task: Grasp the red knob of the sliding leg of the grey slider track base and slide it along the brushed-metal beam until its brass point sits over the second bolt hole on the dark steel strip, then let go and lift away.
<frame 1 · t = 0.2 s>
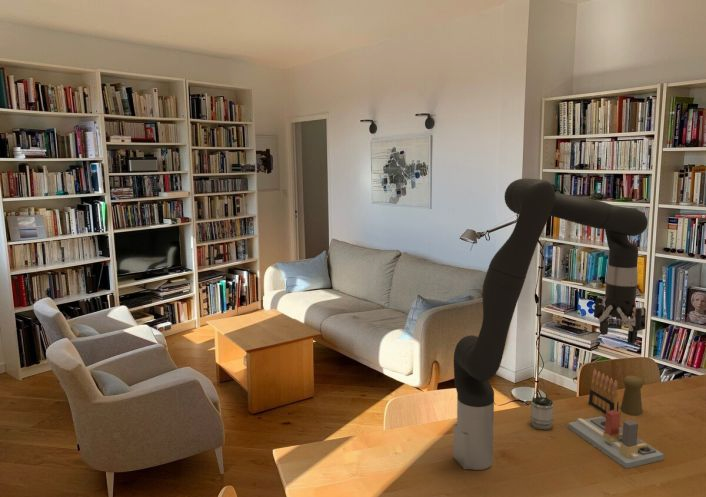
hand: (617, 338, 149), 28 cm above the table, tool pointing down, fingers open, 8 cm apart
grey slider track base: (612, 442, 148), on the table
camera lens: (541, 425, 159), on the table
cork: (631, 411, 166), on the table
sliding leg: (618, 425, 145), point 6 cm above the table, slide at -2.0 cm
ammunition clip: (602, 411, 167), on the table
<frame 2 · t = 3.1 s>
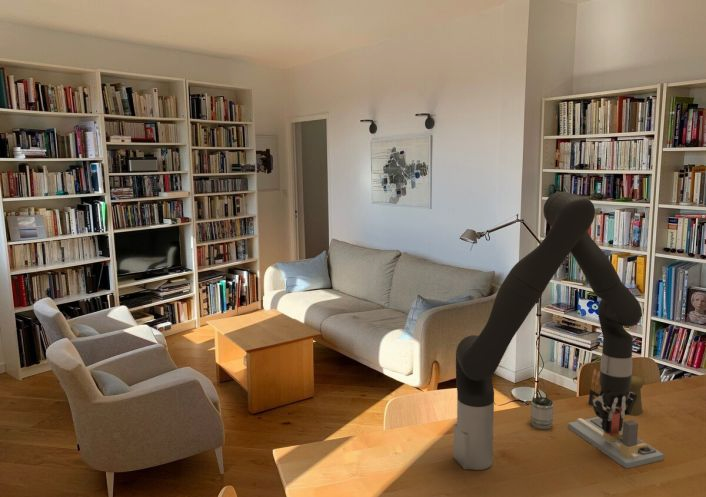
hand: (612, 430, 145), 5 cm above the table, tool pointing down, fingers closed on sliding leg, 3 cm apart
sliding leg: (618, 425, 145), point 6 cm above the table, slide at -2.0 cm, touching gripper
everything else where it was.
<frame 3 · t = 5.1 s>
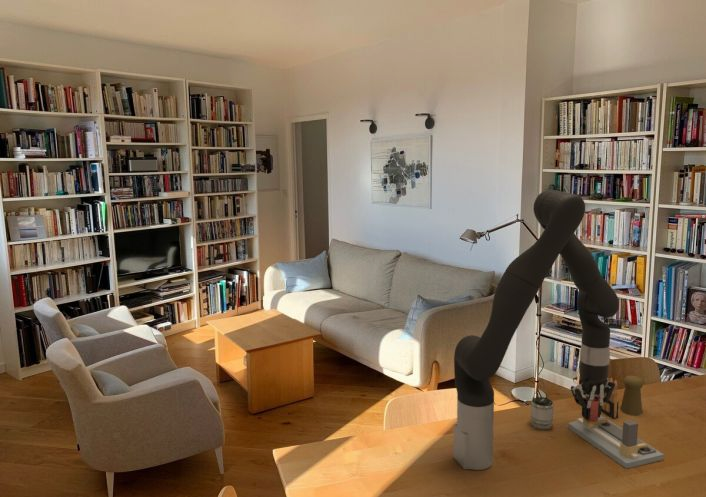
hand: (591, 417, 152), 5 cm above the table, tool pointing down, fingers closed on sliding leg, 3 cm apart
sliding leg: (597, 412, 152), point 6 cm above the table, slide at 5.8 cm, touching gripper
everything else where it was.
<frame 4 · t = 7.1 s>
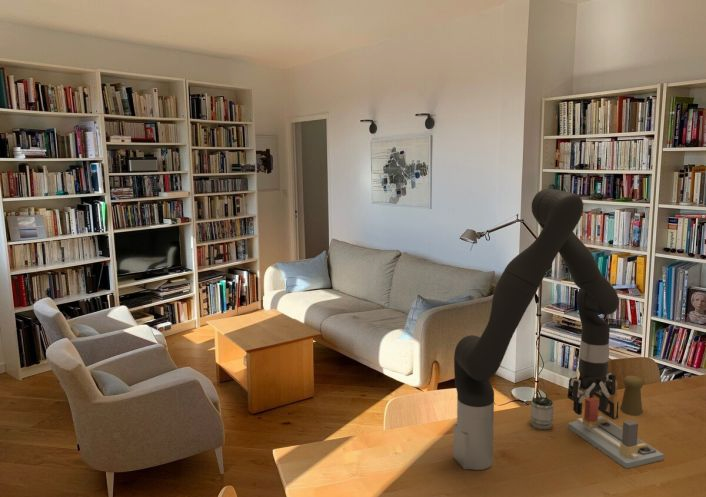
hand: (590, 411, 152), 7 cm above the table, tool pointing down, fingers open, 8 cm apart
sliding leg: (597, 412, 153), point 6 cm above the table, slide at 5.9 cm
everything else where it was.
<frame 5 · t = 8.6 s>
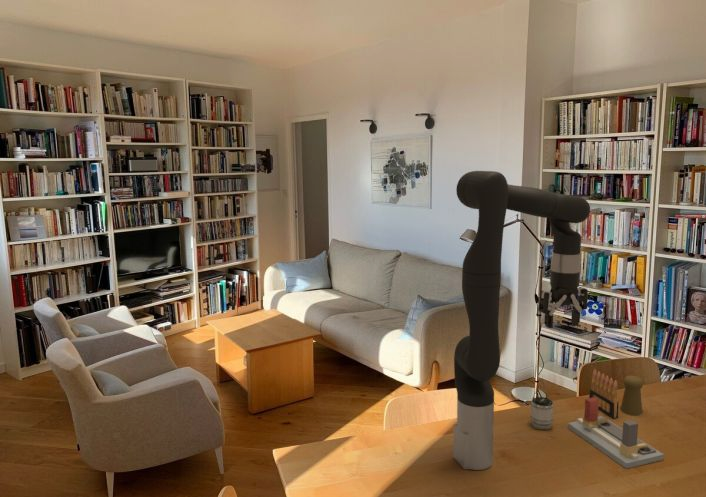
hand: (562, 325, 150), 31 cm above the table, tool pointing down, fingers open, 8 cm apart
nothing on the table moved.
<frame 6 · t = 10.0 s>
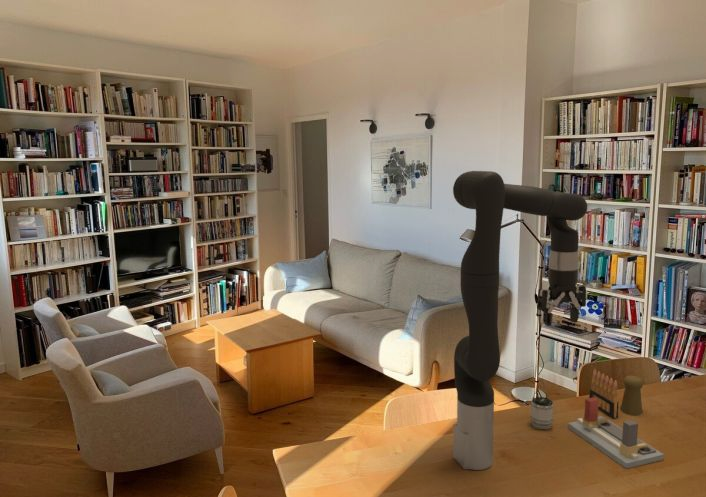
hand: (560, 323, 150), 32 cm above the table, tool pointing down, fingers open, 8 cm apart
nothing on the table moved.
at the end: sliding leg slide at 5.9 cm; the gripper is holding nothing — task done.
